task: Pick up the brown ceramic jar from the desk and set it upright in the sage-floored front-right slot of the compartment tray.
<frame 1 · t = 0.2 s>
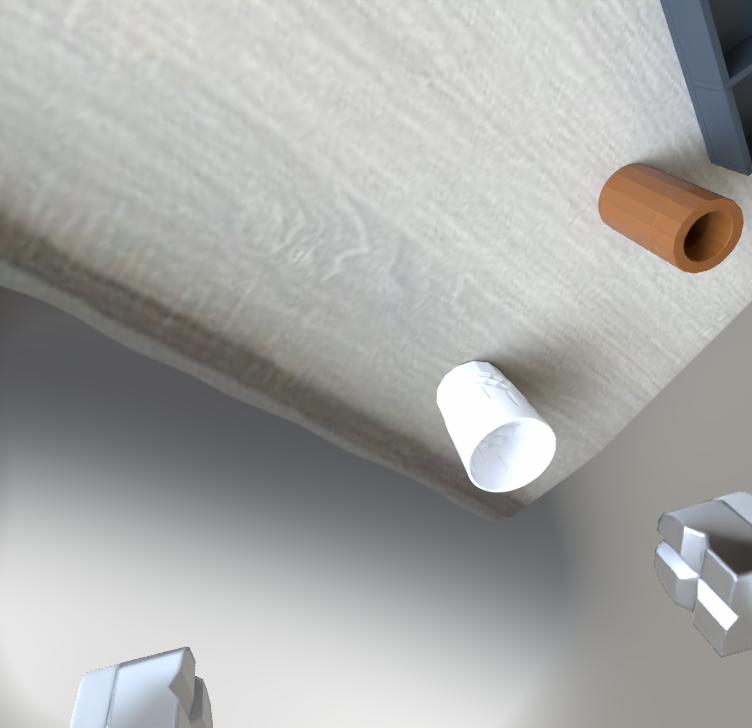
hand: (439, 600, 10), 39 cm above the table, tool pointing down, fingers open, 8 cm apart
jar: (628, 196, 51), on the table
white cup: (468, 388, 59), on the table
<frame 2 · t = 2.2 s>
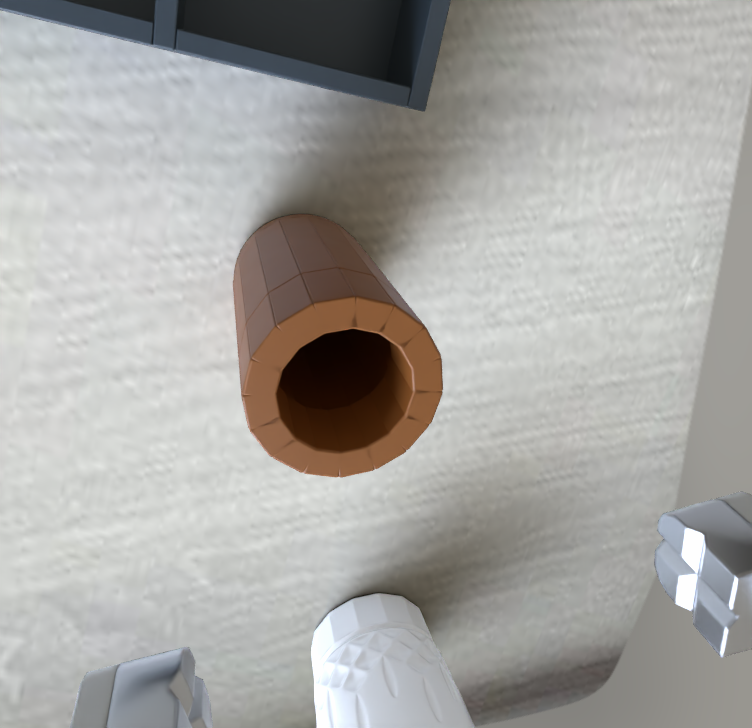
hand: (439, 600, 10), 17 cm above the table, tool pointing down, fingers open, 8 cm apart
jar: (301, 280, 25), on the table
white cup: (367, 632, 36), on the table
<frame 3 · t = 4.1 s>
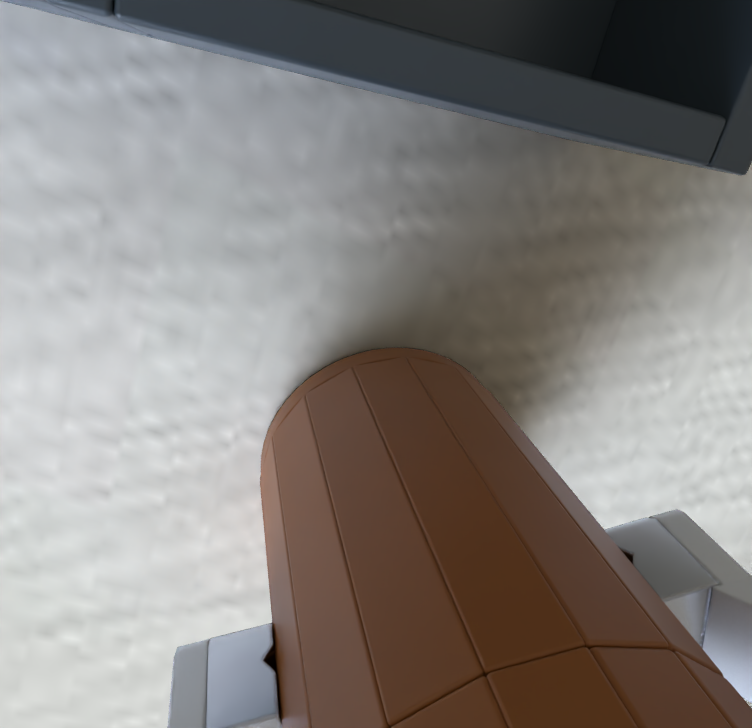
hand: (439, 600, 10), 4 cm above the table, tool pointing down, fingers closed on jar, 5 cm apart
jar: (383, 457, 14), on the table, touching gripper
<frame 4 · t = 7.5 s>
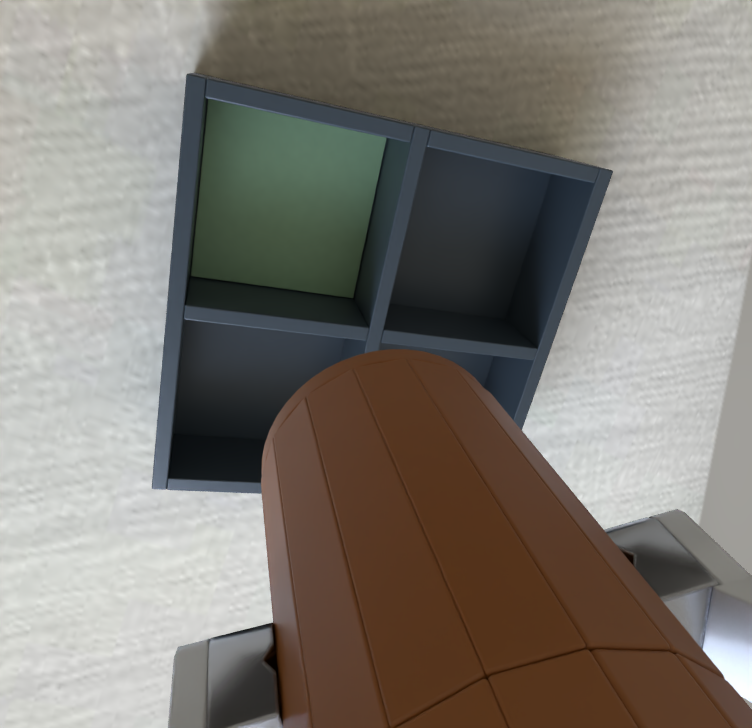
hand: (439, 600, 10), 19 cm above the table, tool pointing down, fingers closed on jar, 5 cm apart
jar: (384, 458, 14), point 15 cm above the table, touching gripper
compartment tray: (355, 299, 28), on the table
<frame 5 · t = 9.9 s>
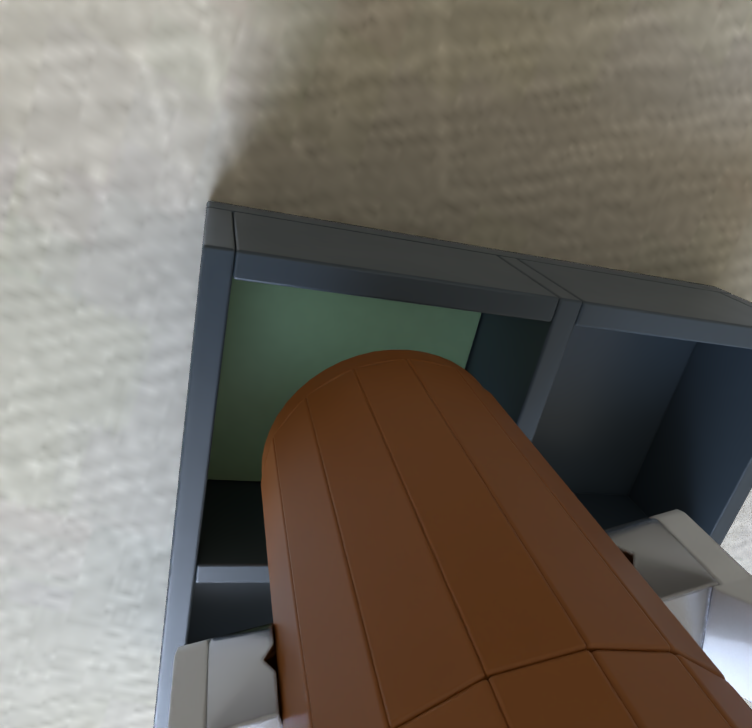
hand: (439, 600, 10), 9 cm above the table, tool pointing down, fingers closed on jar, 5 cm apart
jar: (384, 458, 14), point 5 cm above the table, touching gripper
compartment tray: (427, 479, 20), on the table
when the fingers open (5 cm above the table, at t = 11.3 s): jar stays where it is, resting on compartment tray.
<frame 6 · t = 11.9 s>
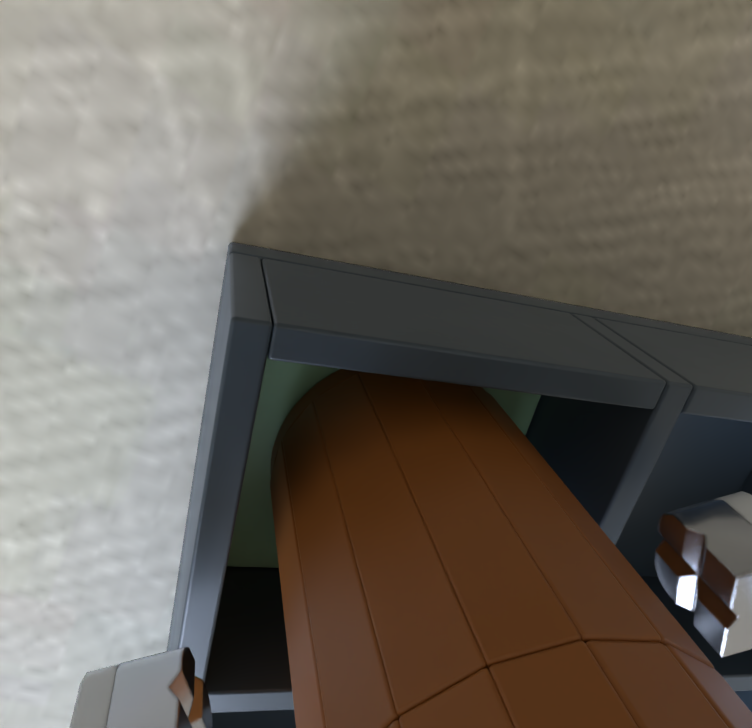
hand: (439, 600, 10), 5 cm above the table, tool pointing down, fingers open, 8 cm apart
jar: (389, 459, 14), point 1 cm above the table, touching compartment tray
compartment tray: (467, 558, 18), on the table
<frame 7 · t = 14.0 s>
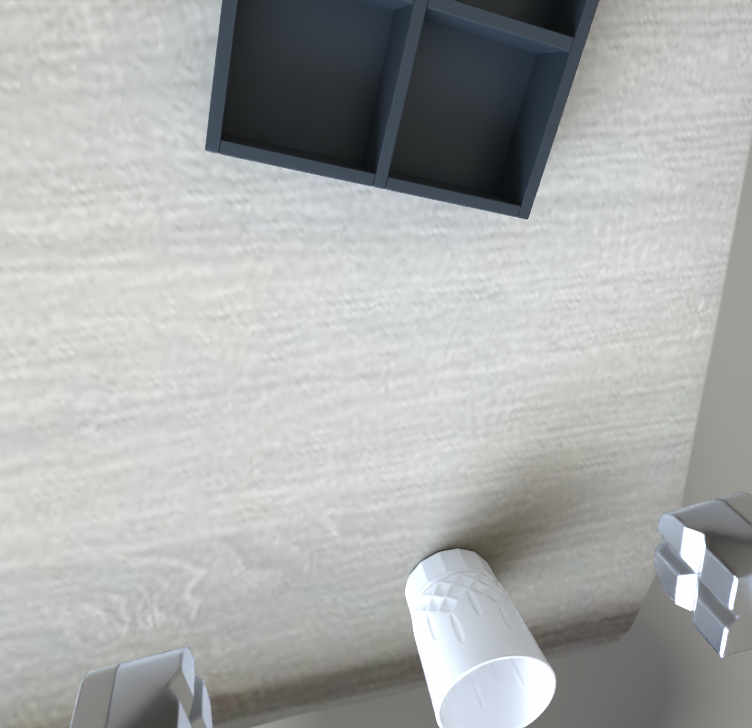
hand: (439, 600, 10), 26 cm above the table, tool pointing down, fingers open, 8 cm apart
white cup: (446, 579, 47), on the table
compartment tray: (397, 7, 29), on the table
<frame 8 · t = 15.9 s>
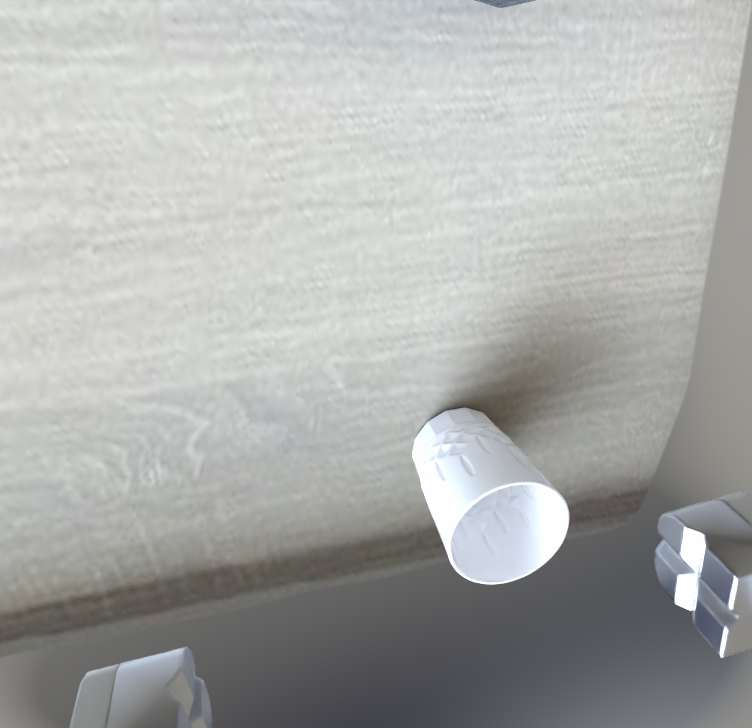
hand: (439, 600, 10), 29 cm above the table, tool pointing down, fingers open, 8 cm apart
white cup: (453, 444, 46), on the table
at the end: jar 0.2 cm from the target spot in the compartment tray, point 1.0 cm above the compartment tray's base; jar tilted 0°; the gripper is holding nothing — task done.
